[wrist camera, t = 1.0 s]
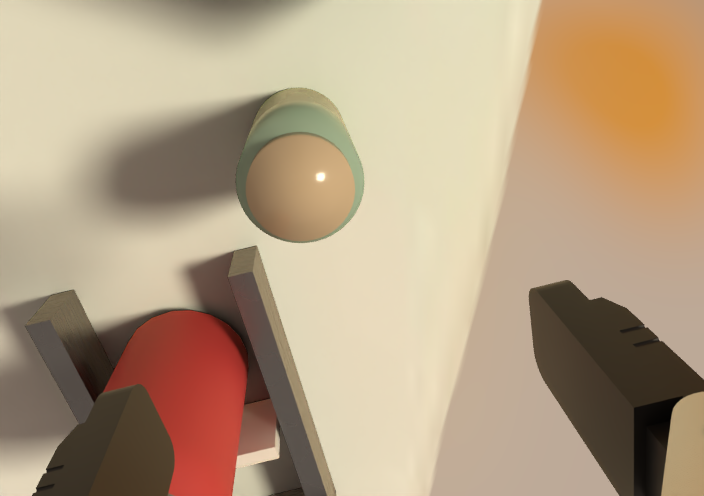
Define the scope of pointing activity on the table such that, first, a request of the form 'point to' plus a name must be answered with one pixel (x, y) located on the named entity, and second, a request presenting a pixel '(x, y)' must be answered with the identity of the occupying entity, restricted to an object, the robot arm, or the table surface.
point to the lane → (266, 339)
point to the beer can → (191, 394)
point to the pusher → (258, 434)
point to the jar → (299, 168)
